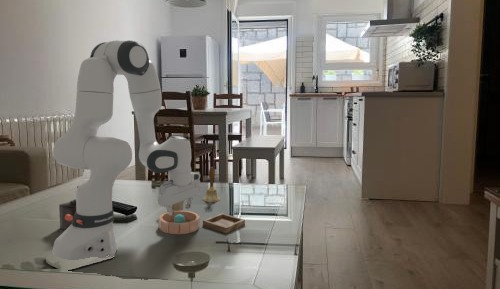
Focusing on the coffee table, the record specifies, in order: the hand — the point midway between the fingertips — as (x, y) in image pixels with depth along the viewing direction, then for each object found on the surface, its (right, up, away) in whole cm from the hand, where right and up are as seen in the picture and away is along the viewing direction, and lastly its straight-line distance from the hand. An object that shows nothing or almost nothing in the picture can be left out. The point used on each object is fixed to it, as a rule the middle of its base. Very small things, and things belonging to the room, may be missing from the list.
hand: (179, 211), depth 165 cm
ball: (0, -5, 0) cm, 5 cm away
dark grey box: (-36, -6, -6) cm, 37 cm away
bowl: (0, -6, 0) cm, 6 cm away
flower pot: (-5, -3, +15) cm, 16 cm away
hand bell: (+9, 0, +36) cm, 37 cm away
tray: (+17, -6, +3) cm, 19 cm away
